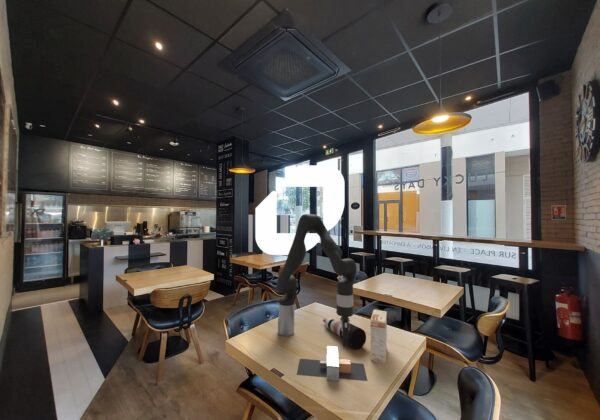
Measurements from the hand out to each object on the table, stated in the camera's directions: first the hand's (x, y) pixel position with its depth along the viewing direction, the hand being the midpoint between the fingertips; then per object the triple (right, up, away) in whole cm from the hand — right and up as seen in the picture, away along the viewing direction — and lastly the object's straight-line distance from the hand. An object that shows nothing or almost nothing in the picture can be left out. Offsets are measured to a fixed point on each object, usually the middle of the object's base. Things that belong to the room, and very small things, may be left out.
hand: (344, 340), depth 110 cm
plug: (-4, -13, 0) cm, 14 cm away
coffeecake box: (+20, -15, +13) cm, 28 cm away
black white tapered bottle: (+3, -15, +32) cm, 36 cm away
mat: (-6, -14, 0) cm, 15 cm away
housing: (-5, -13, 0) cm, 14 cm away
